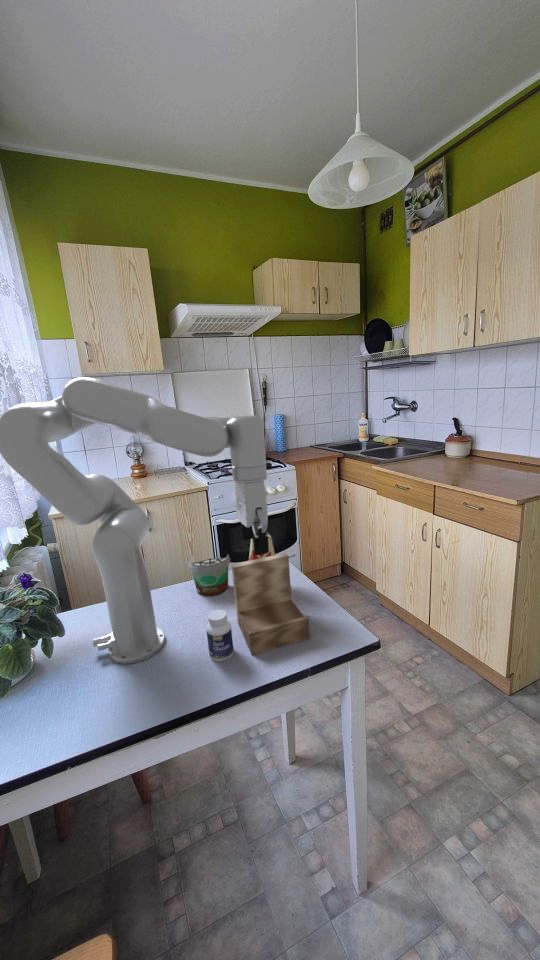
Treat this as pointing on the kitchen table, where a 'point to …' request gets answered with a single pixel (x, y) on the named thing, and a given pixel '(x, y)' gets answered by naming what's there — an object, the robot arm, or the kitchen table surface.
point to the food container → (211, 576)
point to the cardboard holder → (267, 604)
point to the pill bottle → (219, 636)
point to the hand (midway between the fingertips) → (254, 545)
